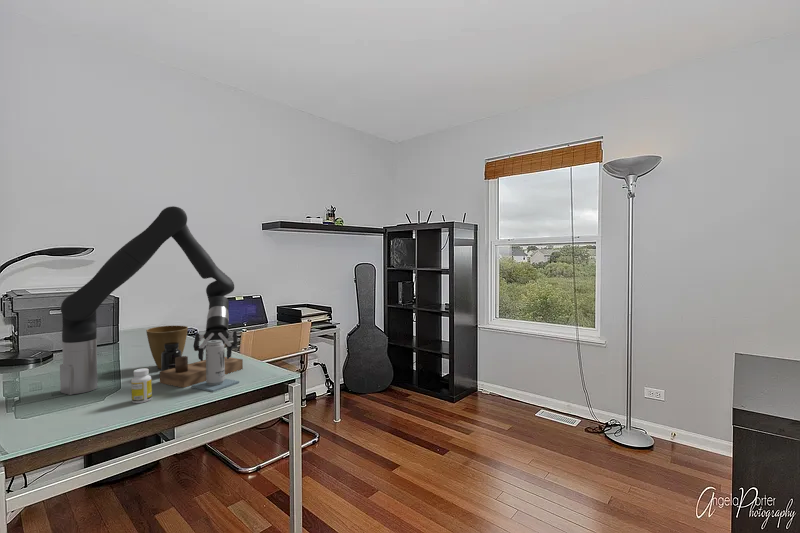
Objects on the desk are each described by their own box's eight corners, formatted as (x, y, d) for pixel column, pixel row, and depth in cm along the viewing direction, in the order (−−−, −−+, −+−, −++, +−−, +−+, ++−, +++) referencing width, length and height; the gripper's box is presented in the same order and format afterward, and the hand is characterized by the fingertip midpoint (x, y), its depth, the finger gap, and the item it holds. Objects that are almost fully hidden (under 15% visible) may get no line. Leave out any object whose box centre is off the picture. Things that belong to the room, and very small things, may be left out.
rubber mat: (213, 392, 137) (213, 390, 137) (191, 387, 142) (191, 385, 142) (239, 382, 147) (239, 381, 147) (217, 378, 152) (217, 377, 152)
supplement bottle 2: (172, 377, 154) (172, 345, 154) (157, 376, 156) (156, 344, 155) (185, 372, 161) (185, 341, 161) (170, 371, 162) (170, 341, 162)
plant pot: (138, 370, 164) (137, 330, 163) (169, 361, 178) (168, 324, 177) (166, 373, 159) (165, 332, 159) (196, 363, 173) (196, 326, 173)
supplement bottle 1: (148, 396, 133) (147, 366, 133) (154, 400, 130) (154, 369, 129) (129, 401, 129) (128, 370, 129) (135, 405, 125) (134, 373, 125)
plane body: (183, 387, 142) (183, 362, 141) (159, 382, 147) (159, 358, 147) (242, 369, 165) (242, 347, 165) (220, 365, 171) (219, 344, 170)
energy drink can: (220, 385, 142) (219, 342, 141) (202, 385, 142) (202, 342, 141) (227, 380, 148) (227, 339, 147) (211, 380, 148) (210, 339, 147)
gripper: (195, 316, 149) (190, 354, 138) (237, 314, 153) (236, 351, 143) (198, 328, 154) (193, 366, 143) (238, 325, 158) (237, 362, 148)
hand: (214, 358), depth 143 cm, fingers open, 8 cm apart
